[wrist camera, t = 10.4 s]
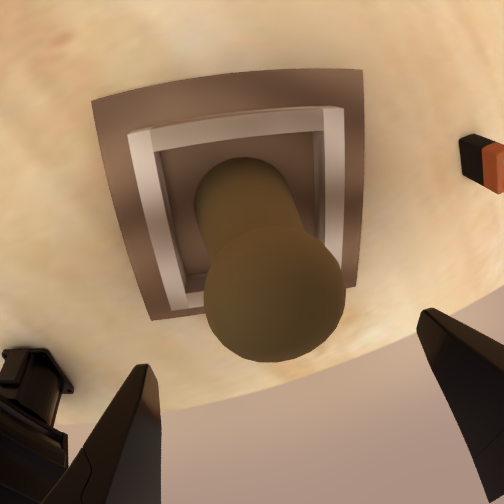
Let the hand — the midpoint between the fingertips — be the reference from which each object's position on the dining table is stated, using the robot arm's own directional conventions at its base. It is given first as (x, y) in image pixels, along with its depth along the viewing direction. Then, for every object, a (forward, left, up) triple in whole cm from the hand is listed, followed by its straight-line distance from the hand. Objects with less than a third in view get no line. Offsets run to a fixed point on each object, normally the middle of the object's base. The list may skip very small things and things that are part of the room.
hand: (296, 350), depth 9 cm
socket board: (0, 0, -13) cm, 13 cm away
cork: (0, 0, -12) cm, 12 cm away
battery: (+2, -19, -13) cm, 23 cm away
